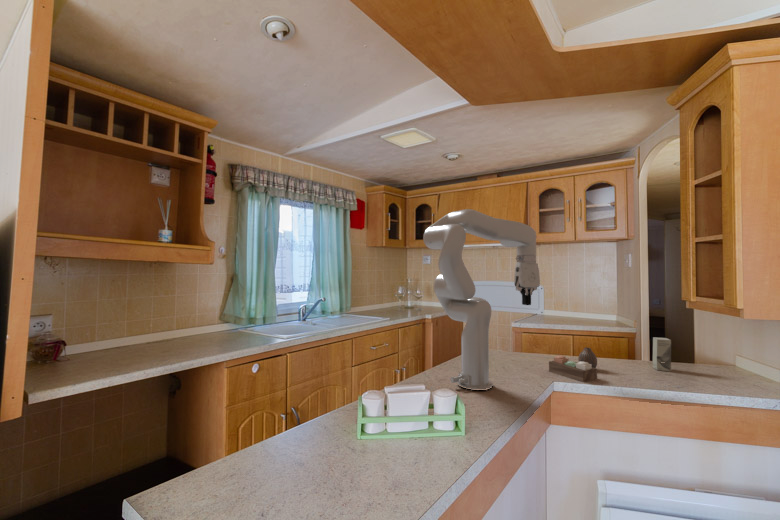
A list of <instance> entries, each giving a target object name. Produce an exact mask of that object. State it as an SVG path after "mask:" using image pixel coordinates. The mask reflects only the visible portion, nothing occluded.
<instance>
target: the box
mask: <svg viewBox="0 0 780 520" xmlns="http://www.w3.org/2000/svg"><path fill="white" fill-rule="evenodd" d="M661 362H665V363H661ZM652 368H654V370H656V371H663V372H671V371H672V339H669V338H667V337H656V336H655V337H652Z"/></svg>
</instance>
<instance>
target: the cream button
mask: <svg viewBox="0 0 780 520" xmlns="http://www.w3.org/2000/svg"><path fill="white" fill-rule="evenodd" d="M576 368H578V369H582V370H590V369H592V365H591V364H589V363H588V362H583V361H580V362H577V363H576Z"/></svg>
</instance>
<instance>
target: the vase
mask: <svg viewBox="0 0 780 520" xmlns="http://www.w3.org/2000/svg"><path fill="white" fill-rule="evenodd" d="M577 360H578V361H577V363H579V362H580V361H583V362H588V363H589V364H591V365H592V367H593V368H597V366H598V358H597V355H596V354H595V353H594V352H593V350H592V348H590V347H584V348H583V349H582V351H581V352H580V353H579V355H578V359H577Z"/></svg>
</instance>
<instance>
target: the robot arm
mask: <svg viewBox="0 0 780 520" xmlns="http://www.w3.org/2000/svg"><path fill="white" fill-rule="evenodd" d="M467 234H468V235H472V236H475V237H478V238H482V239H484V240H488V241H498V242H499V243H500V245H501V246H503V247H505V248H516V257H515V260H516V263H515V267H514V274H513V275H514V278H513V283H514V287H515V290H516V291H518V292H519V293H520V295H521V305H525V306H531V305H532V295H533V292H534V291H537V289H538V288H539V287H540V285H541V279H540V278H541V277H540V270H539V264H538V263H537V231H536V230H535V229H534V228H533V227H532V226H531V225H528V224H525V223H523V222H519V221H516V220H509V219H503V218H498V217H497V218H496V217H493V216H490V215H487V214H485V213H482V212H480V211H478V210H475V209H471V208H468V209H460V210H456V211H451V212H448V213H447V214H445V215H443V216H442V217H441V218H440V219H438V220H437V221H435V222H434V223H433V224H431V225H429V227H428V226H427V228H426V229H425V230H424V233H423V239H422V240H423V244H424V245H425V246H426V247H427V248H428V249H430V250H436V251H437V250H440V254H439V257H438V262H437V265H438V270H439V272H440V274H438V275H437V276H436V277H435V279H434V282H433V290H434V291H433V292H434V294H435V297H436V298H437V299H438V300H437V301H439V303H440V304H441V307H442V308H443V310H444V313H446V315H447V316H448V317H449V318H450V319H451V320H452V321H456V322H461V323H462V322H463V323H465V325H464V327H463V329H462V332H461V371H460V372H458V375H457V376H450V382H451V383H452V384H453V383H458V384H459V385H461V386H463V387H466V388H471V389H486V388H490V387H492V386H493V387H494V382H493V381H492V380H490V378H489V377H490V376H489V375H490V371H489V369H490V366H489V362H490V361H489V359H490V358H489V355H490V354H489V353H490V352H489V351H490V350H489V349H490V348H489V347H490V345H489V341H490V340H489V339H490V338H489V336H490V335H489V334H490V333H489V332H490V323H491V318H492V307H491V304H490V303H489V302H488V300H486V299H484V298H482V297H476V296H475V294H476V284H475V283H474V280H473V279H472V277H471V274H470V273H469V271H468V270H467V267H466V265H465V264H464V262H463V249H464V247H465V243H466V239H467ZM458 384H457V385H458Z"/></svg>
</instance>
